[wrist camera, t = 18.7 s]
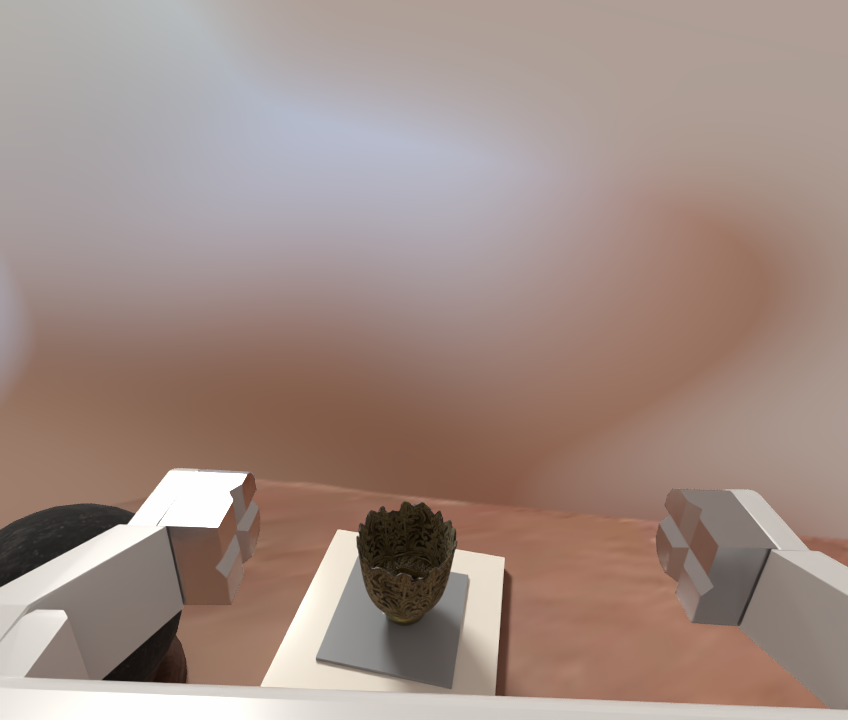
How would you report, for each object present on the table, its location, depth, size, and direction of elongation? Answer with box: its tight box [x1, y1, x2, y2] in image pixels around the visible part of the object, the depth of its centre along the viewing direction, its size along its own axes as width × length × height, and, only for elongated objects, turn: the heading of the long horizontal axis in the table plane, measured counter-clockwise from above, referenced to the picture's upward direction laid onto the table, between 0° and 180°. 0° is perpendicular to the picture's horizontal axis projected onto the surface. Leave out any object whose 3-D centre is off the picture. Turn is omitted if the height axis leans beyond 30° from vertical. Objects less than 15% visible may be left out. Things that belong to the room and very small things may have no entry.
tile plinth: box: [260, 529, 505, 696], centre depth 41 cm, size 16×16×2 cm
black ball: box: [0, 504, 187, 684], centre depth 33 cm, size 13×13×15 cm
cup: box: [356, 501, 457, 626], centre depth 39 cm, size 8×7×8 cm
